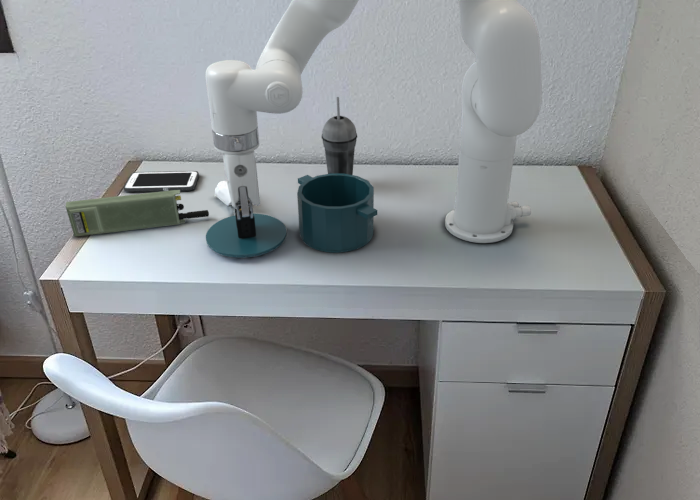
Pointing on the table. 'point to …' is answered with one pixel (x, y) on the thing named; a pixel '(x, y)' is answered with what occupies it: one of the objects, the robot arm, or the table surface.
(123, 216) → the handheld radio
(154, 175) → the cell phone
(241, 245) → the lid
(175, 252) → the table surface
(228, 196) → the white tied bag
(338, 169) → the beverage cup
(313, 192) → the teal cooking pot
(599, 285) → the table surface
